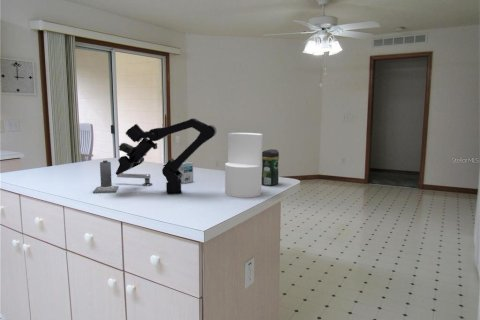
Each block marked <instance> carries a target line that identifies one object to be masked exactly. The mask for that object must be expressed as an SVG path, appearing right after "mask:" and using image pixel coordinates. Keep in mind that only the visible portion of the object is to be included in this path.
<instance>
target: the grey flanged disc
mask: <svg viewBox="0 0 480 320" xmlns="http://www.w3.org/2000/svg"><path fill="white" fill-rule="evenodd" d="M143 186H144V187H151V186H153V183H152V182H151V178H150V179H144V182H143V183H142V187H143Z"/></svg>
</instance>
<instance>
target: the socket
mask: <svg viewBox="0 0 480 320" xmlns="http://www.w3.org/2000/svg"><path fill="white" fill-rule="evenodd" d="M119 187H120V186H118V185H115V186H114V185H113V188H112V189H108V190H101V189H100V186H96V187H95V188H94V190H93V191H92V194H109V193H110V194H111V193H113V194H114V193H117V191H118V189H119Z"/></svg>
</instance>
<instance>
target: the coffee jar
mask: <svg viewBox="0 0 480 320" xmlns="http://www.w3.org/2000/svg"><path fill="white" fill-rule="evenodd" d="M279 154H280V152H279V150H278V149H271V148H270V149H267V150H262V183H261V185H264V186H266V187H268V186H276V185H278V184H279V160H280V159H279V158H280V155H279Z"/></svg>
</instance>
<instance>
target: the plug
mask: <svg viewBox="0 0 480 320" xmlns="http://www.w3.org/2000/svg"><path fill="white" fill-rule="evenodd" d="M111 165H112V162H111V161H108V160H103V161H101V162H99V176H100V177H99V178H100V185H99V187H100V189H101V190H108V189H112V188H113V186H114V185H113V183H112V166H111Z"/></svg>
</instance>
